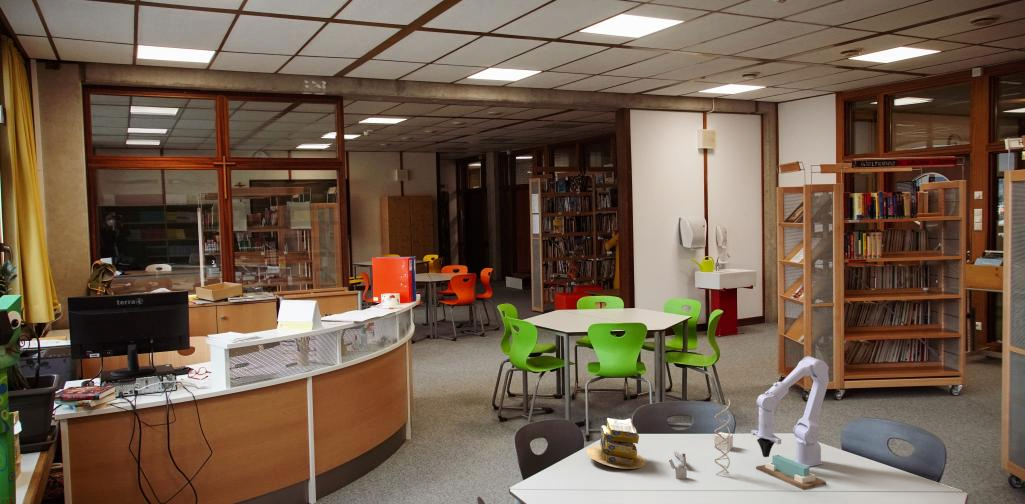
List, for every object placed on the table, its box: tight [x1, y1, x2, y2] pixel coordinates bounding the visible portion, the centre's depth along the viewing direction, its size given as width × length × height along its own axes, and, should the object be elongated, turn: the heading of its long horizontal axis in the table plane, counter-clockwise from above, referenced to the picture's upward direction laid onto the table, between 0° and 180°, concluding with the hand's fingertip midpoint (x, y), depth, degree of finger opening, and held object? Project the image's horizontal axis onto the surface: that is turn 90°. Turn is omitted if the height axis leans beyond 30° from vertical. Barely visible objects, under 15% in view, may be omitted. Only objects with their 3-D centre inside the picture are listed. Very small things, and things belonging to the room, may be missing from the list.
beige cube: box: [713, 431, 734, 452], centre depth 312 cm, size 6×6×6 cm
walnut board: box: [755, 463, 827, 490], centre depth 278 cm, size 12×24×1 cm, turn 25°
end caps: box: [764, 462, 817, 483], centre depth 278 cm, size 7×19×2 cm, turn 25°
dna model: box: [714, 398, 731, 475], centre depth 281 cm, size 7×6×30 cm
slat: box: [771, 454, 811, 477], centre depth 277 cm, size 3×16×5 cm, turn 24°
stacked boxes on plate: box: [586, 417, 646, 470], centre depth 296 cm, size 25×25×17 cm
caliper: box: [673, 450, 687, 468], centre depth 296 cm, size 20×1×6 cm, turn 179°
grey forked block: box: [667, 457, 688, 480], centre depth 277 cm, size 7×2×8 cm, turn 87°
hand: (765, 456), depth 290 cm, fingers closed
